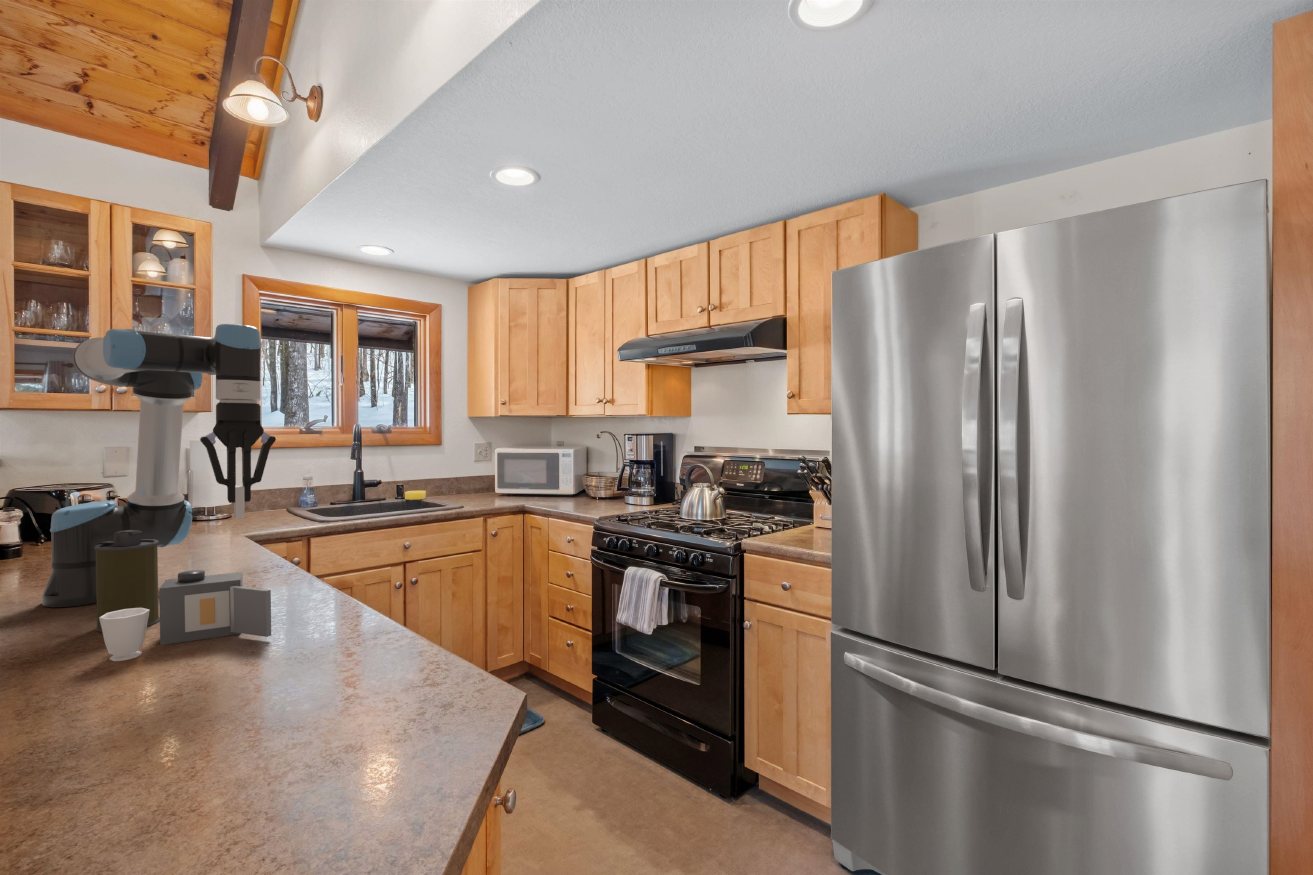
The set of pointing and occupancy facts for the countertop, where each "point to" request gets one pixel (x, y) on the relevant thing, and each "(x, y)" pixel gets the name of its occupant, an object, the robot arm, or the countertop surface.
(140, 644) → the cup
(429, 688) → the countertop surface
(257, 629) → the door
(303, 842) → the countertop surface
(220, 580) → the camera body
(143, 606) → the canister
